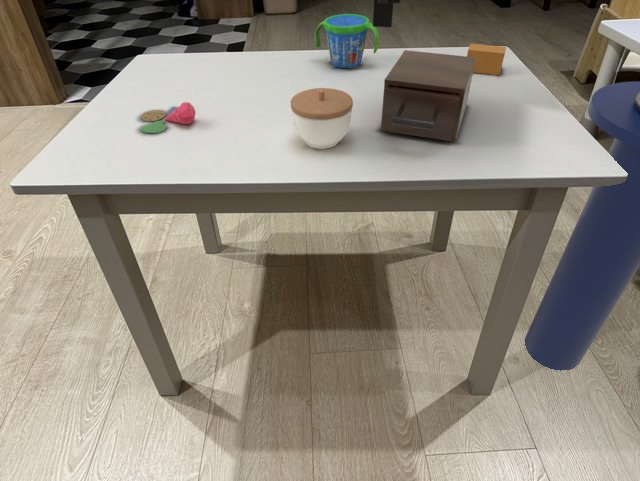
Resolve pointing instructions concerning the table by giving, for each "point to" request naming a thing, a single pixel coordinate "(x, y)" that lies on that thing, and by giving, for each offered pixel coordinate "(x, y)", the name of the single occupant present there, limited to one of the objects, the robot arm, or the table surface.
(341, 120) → the trinket box
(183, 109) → the toy pieces
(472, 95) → the table surface
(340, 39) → the snack cup
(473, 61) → the cabinet
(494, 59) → the tan wooden block
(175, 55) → the table surface
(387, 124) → the drawer
